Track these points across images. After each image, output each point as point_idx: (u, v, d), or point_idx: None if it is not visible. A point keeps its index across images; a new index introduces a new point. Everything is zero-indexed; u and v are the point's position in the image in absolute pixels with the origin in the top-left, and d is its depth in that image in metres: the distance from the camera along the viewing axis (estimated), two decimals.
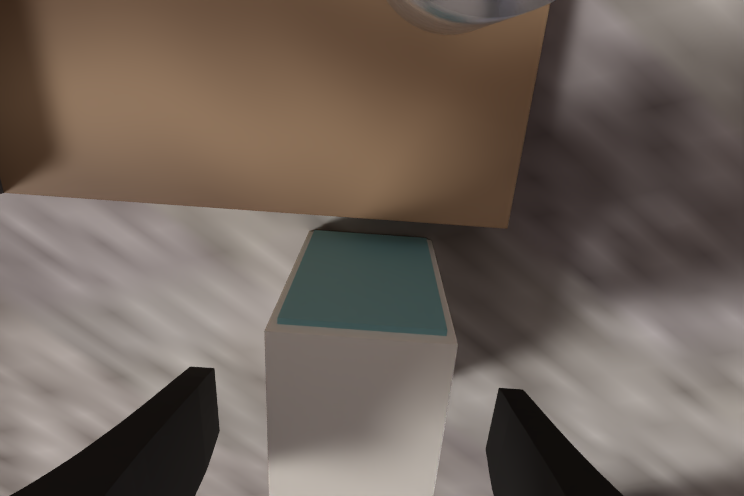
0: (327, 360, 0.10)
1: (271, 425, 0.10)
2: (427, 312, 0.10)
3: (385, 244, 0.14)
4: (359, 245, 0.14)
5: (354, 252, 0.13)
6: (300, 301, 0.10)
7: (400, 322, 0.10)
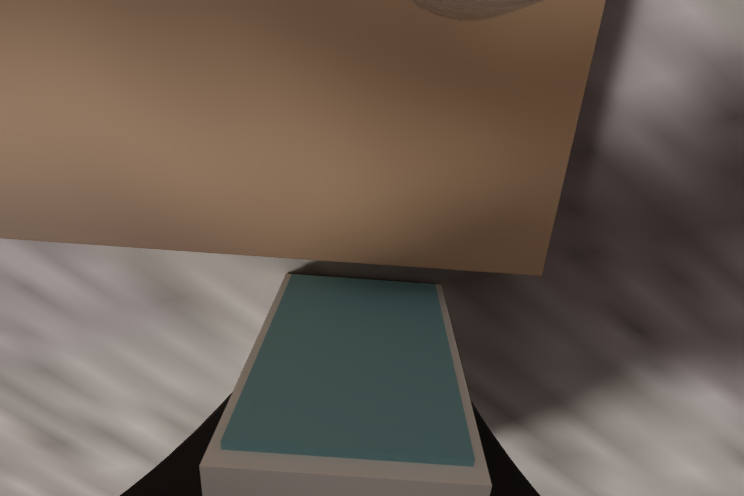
0: None
1: None
2: (443, 422, 0.07)
3: (382, 295, 0.11)
4: (348, 298, 0.10)
5: (341, 309, 0.10)
6: (259, 405, 0.07)
7: (403, 445, 0.07)
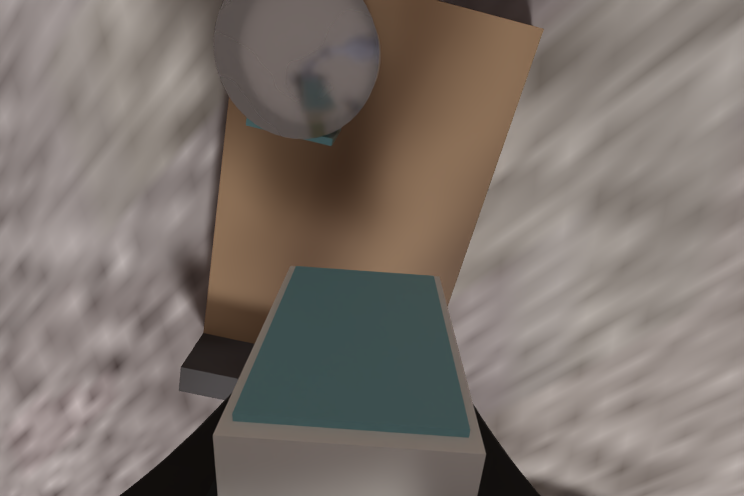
0: (301, 472, 0.07)
1: None
2: (440, 398, 0.07)
3: (383, 286, 0.11)
4: (351, 288, 0.11)
5: (344, 298, 0.10)
6: (267, 382, 0.08)
7: (404, 419, 0.07)
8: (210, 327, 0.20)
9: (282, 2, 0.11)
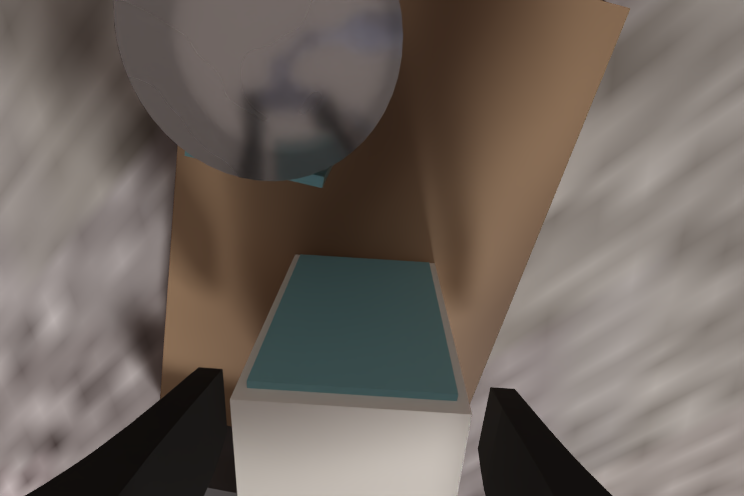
0: (309, 432, 0.08)
1: None
2: (432, 367, 0.08)
3: (382, 272, 0.12)
4: (351, 274, 0.12)
5: (345, 283, 0.11)
6: (277, 355, 0.08)
7: (399, 384, 0.08)
8: None
9: None
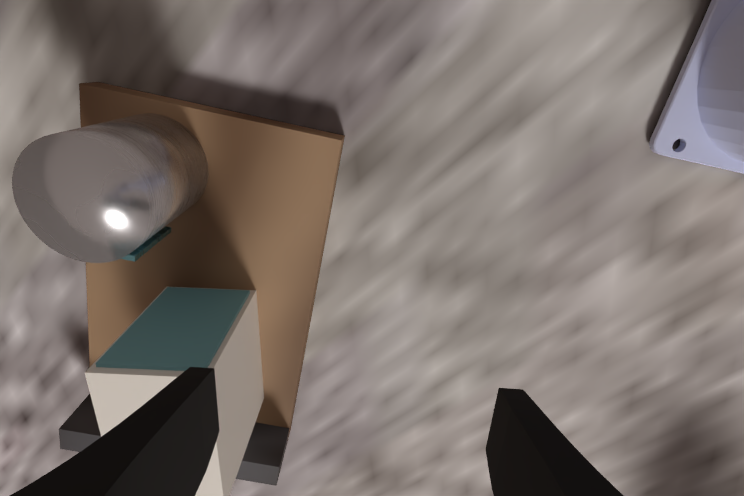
0: (128, 389, 0.15)
1: (102, 432, 0.16)
2: (201, 355, 0.16)
3: (213, 298, 0.19)
4: (192, 300, 0.19)
5: (184, 306, 0.18)
6: (118, 350, 0.16)
7: (176, 364, 0.15)
8: None
9: (62, 164, 0.13)
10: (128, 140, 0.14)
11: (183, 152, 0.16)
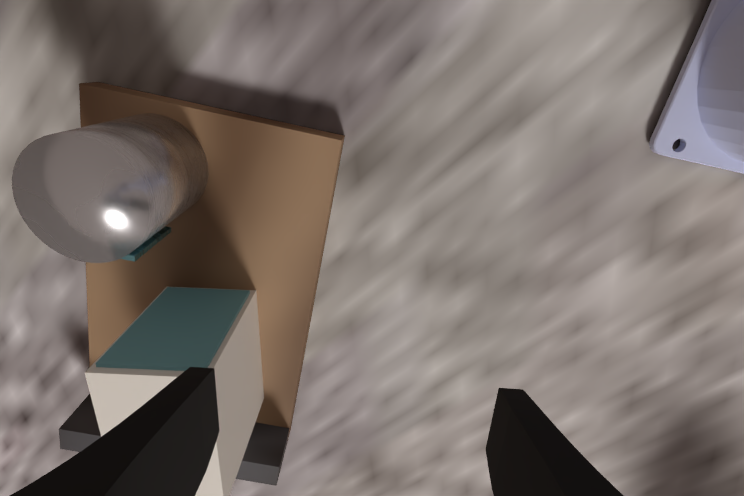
0: (128, 389, 0.15)
1: (102, 432, 0.16)
2: (201, 355, 0.16)
3: (213, 298, 0.19)
4: (192, 300, 0.19)
5: (184, 306, 0.18)
6: (118, 350, 0.16)
7: (176, 364, 0.15)
8: None
9: (62, 164, 0.13)
10: (128, 140, 0.14)
11: (183, 152, 0.16)
